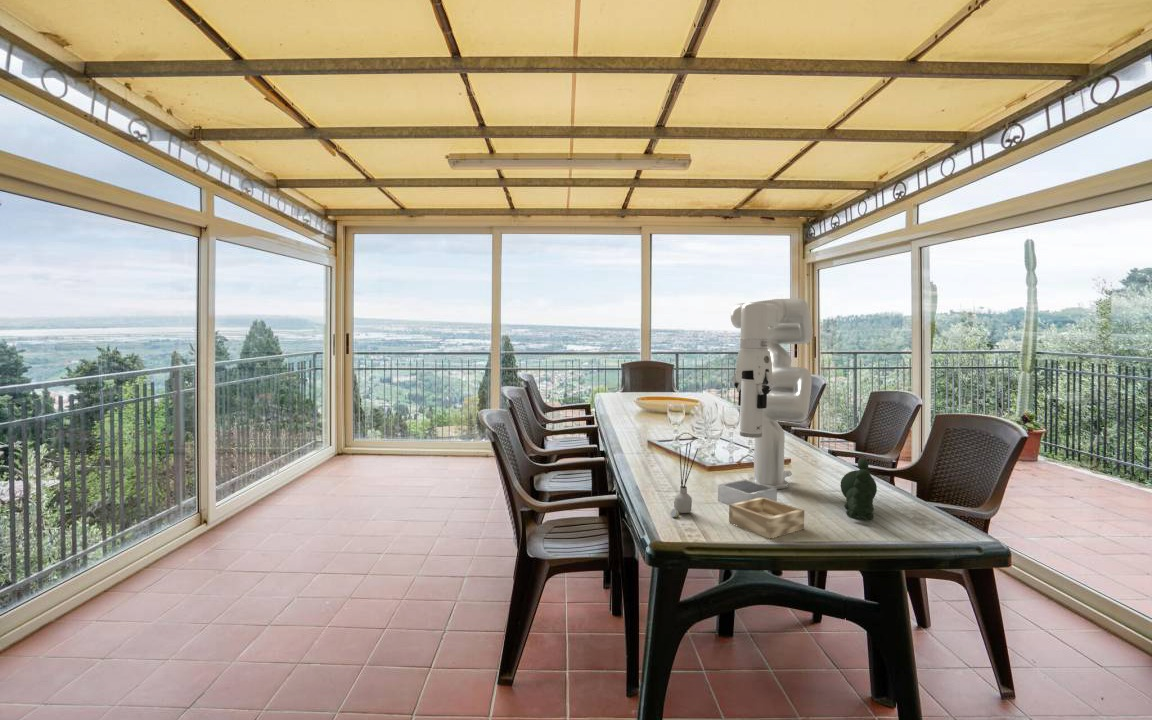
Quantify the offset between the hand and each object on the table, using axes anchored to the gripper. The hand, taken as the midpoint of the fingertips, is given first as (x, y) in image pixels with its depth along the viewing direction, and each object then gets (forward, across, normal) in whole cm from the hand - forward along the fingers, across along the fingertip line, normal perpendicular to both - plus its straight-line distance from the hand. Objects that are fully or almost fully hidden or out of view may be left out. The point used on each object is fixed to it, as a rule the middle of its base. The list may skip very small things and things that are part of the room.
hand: (752, 406), depth 159 cm
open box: (+30, +3, -3) cm, 30 cm away
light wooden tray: (+30, -13, +8) cm, 34 cm away
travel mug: (+9, 0, 0) cm, 9 cm away
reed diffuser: (+30, +5, +20) cm, 37 cm away
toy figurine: (+30, -19, -23) cm, 43 cm away
